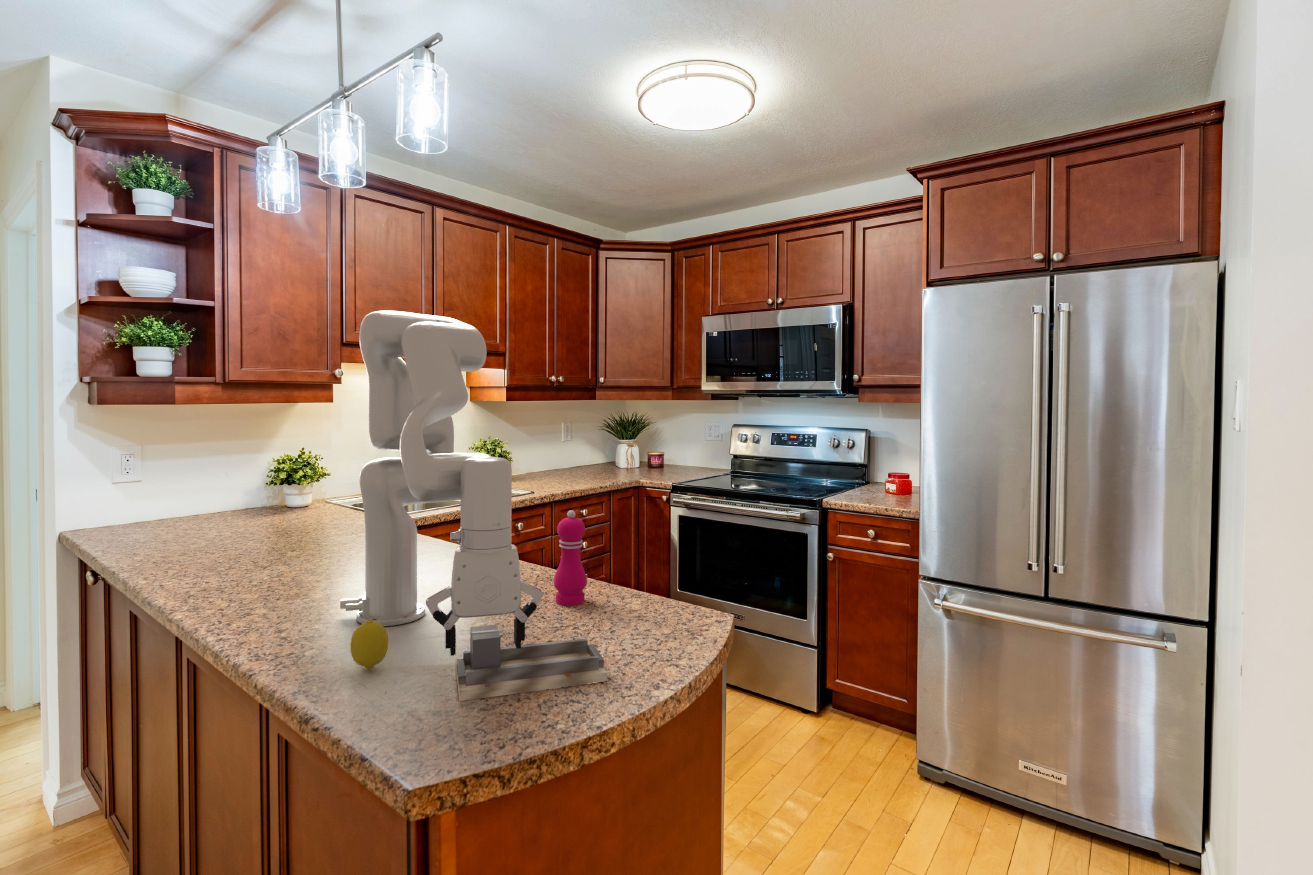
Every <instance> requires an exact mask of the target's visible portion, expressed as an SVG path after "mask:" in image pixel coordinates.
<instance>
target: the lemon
mask: <svg viewBox="0 0 1313 875" xmlns="http://www.w3.org/2000/svg"><path fill="white" fill-rule="evenodd" d="M349 646H350V647H349V648H350V656H351V657H352V659H353V661H354V662H355V663H356V664H357V665H359V666H361V667H364V668H366V670H368V671H369V670H372V669H374V667H375V666H376V665H378V664H379V663H381V662H382V661H383V660H384V659H385V657H386V656H387V653H388V649H389V636H388V631H387V629H386V628H385V626H382V625H381V624H380V623H377V622H374V621H372V620H368V621H367V622H365V623H363V624H361V623H360V625H359V626H358V627H356V628H355V630H354V631H353V633H352V637H351V640H350V645H349Z"/></svg>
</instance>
